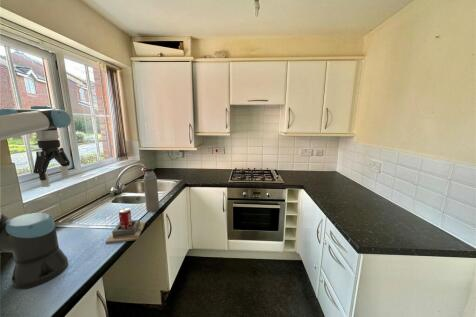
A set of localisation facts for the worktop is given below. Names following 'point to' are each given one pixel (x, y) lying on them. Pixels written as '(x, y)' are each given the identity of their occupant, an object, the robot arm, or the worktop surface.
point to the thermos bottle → (151, 190)
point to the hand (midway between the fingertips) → (56, 182)
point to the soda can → (125, 218)
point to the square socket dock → (126, 232)
